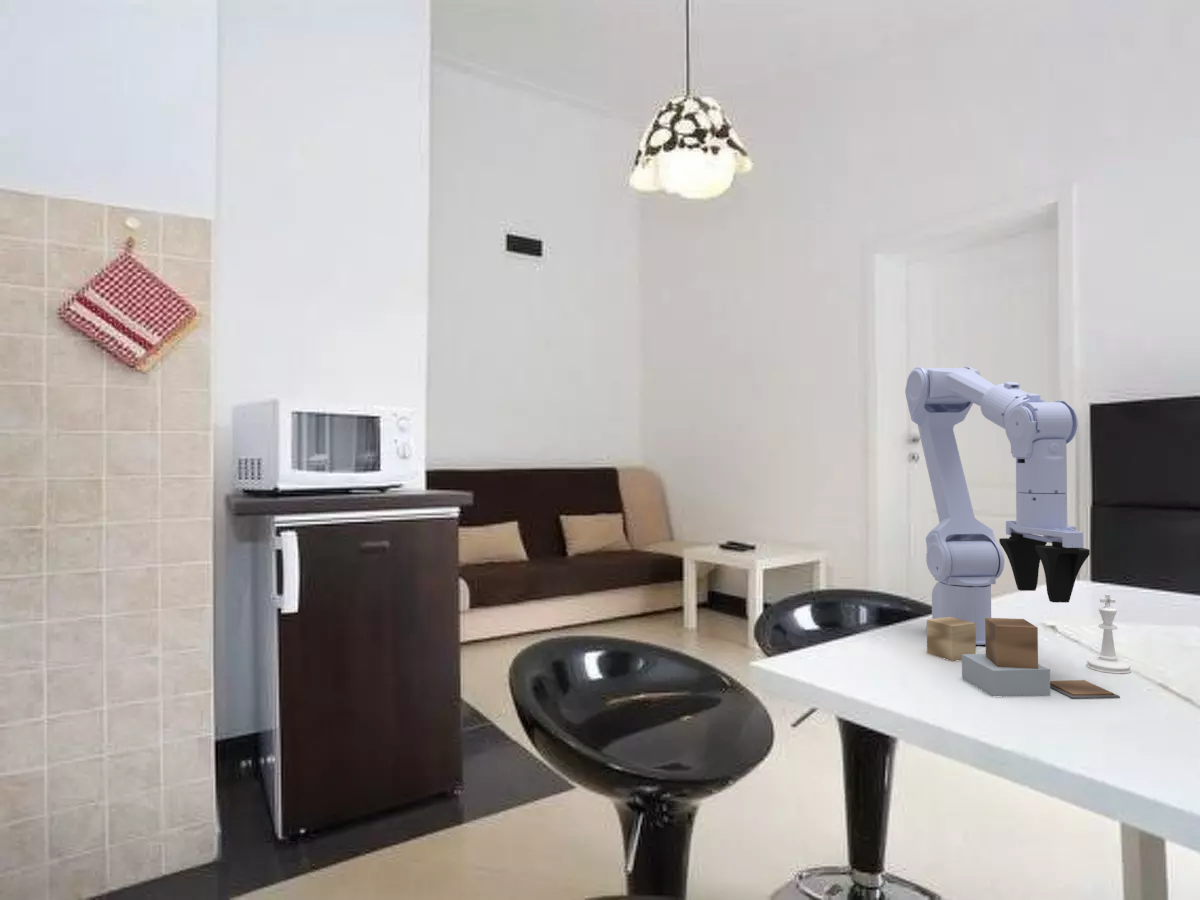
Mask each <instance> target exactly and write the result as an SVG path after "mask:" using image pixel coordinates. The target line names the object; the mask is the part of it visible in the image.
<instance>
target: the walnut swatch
mask: <svg viewBox="0 0 1200 900" xmlns="http://www.w3.org/2000/svg"><path fill="white" fill-rule="evenodd" d="M1050 689H1053V690H1054V691H1056V692H1057V693H1061V694H1062V695H1064V696H1066V697H1068V698H1070V699H1075V700H1076V699H1077V700H1078V699H1079V700H1080V699H1082V700H1083V699H1118V698H1119V699H1120V698H1121V696H1120V695H1119V694H1116V693H1114V692H1113V691H1109V690H1107V689H1105V688H1103V687H1100V686H1099V685H1097V684H1094V683H1091V682H1090V681H1087V680H1085V679H1081V680H1080V679H1079V680H1077V679H1076V680H1075V679H1074V680H1050Z"/></svg>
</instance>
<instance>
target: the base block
mask: <svg viewBox="0 0 1200 900" xmlns="http://www.w3.org/2000/svg"><path fill="white" fill-rule="evenodd" d="M961 678H963V679H962V680H964V679H965V680H964V681H966V682H967V681H968V683H969V682H970V683H969V684H971V683H972V684H973V685H972V684H971V685H972V686H974V685H975V686H974V687H976V686H977V687H978V689H979V688H980V689H979V690H981V689H982V690H981V691H982V692H984V691H985V693H986V692H987V693H986V694H988V695H989V694H990V696H991V695H992V696H991V697H993V696H1002V698H1004V696H1005V697H1006V696H1007V697H1009V696H1010V697H1051V688H1050V681H1051V669H1050V668H1048V667H1046V666H1044V665H1041V664H1039V663H1038V669H1032V668H1009V667H997V666H996V665H995V664H994V663H993V662H991V661H990V660H989V659H988V658H987V657H986V653H976V654H962V660H961ZM977 687H976V688H977ZM1007 697H1006V698H1007ZM1010 697H1009V698H1010Z"/></svg>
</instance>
